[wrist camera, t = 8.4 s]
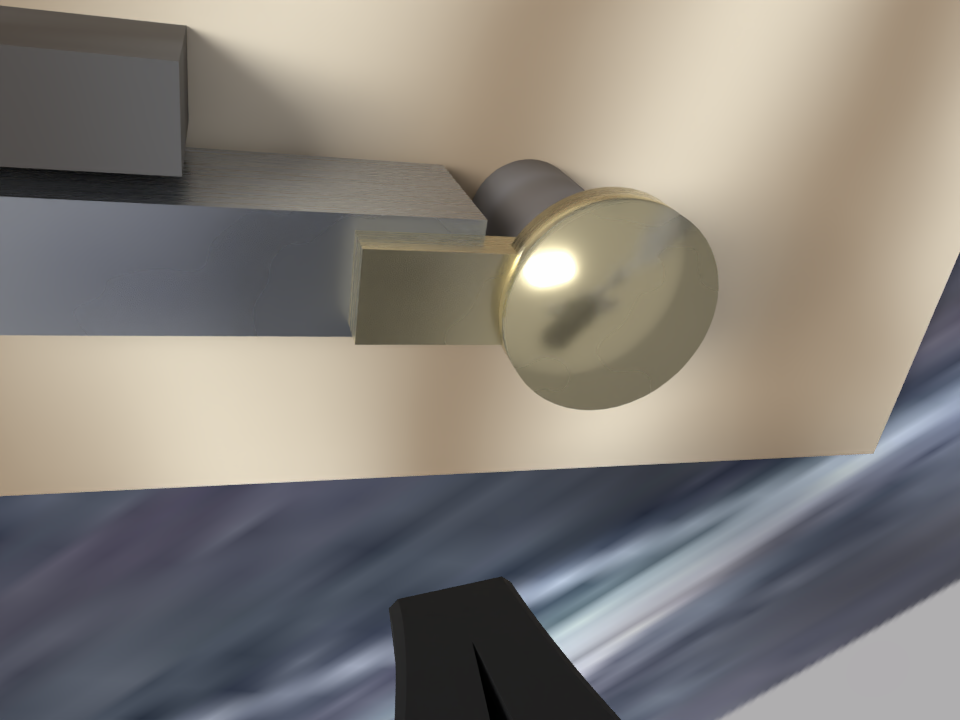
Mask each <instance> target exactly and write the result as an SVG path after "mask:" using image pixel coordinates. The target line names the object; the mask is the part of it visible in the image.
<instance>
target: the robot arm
mask: <svg viewBox="0 0 960 720" xmlns="http://www.w3.org/2000/svg"><path fill="white" fill-rule="evenodd" d="M389 613H390V621H391V629H392V637H393V646H394V654H395V662H396V696H395V720H621V719H620V718H619V717H618V716H617V715H616V714H615V712H614V711H613V710H612V709H611V708H610V707H609V706H608V705H607V704H606V702H605V701H604V700H603V699H602V698H601V697H600V696H599V695H598V693H597V692H596V691H595V690H594V689H593V688H592V687H591V685H590V684H589V683H588V682H587V681H586V680H585V678H584V677H583V676H582V675H581V674H580V673H579V671H578V670H577V669H576V668H575V667H574V665H573V664H572V663H571V662H570V660H569V659H568V658H567V657H566V655H565V654H564V653H563V652H562V651H561V649H560V648H559V647H558V646H557V644H556V643H555V642H554V641H553V639H552V638H551V637H550V635H549V634H548V633H547V632H546V630H545V629H544V628H543V626H542V625H541V624H540V623H539V621H538V620H537V618H536V617H535V616H534V614H533V613H532V612H531V610H530V609H529V608H528V606H527V605H526V603H525V602H524V601H523V599H522V598H521V596H520V595H519V594H518V592H517V591H516V589H515V588H514V586H513V585H512V583H511V582H510V581H508V580H506V579H505V578H503V577H498V578H493V579H489V580H484V581H479V582H475V583H470V584H466V585H461V586H456V587H452V588H447V589H442V590H438V591H433V592H429V593H424V594H419V595H415V596H410V597H406V598H401V599H398V600H397V601H396V602H395V603H394V604H393V605H392V606H391V607H390V608H389Z"/></svg>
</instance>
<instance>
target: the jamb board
mask: <svg viewBox="0 0 960 720" xmlns="http://www.w3.org/2000/svg"><path fill="white" fill-rule="evenodd" d="M185 147H191V148H205V149H220V150H234V151H249V152H264V153H278V154H293V155H308V156H322V157H337V158H351V159H366V160H381V161H395V162H410V163H425V164H439V165H443V166H444V167H445V168H446V169H447V171H448V172H449V173H450V174H451V176H452V177H453V178H454V179H455V181H456V182H457V183H458V184H459V185H460V187H461V188H462V189H463V190H464V192H465V193H466V194H467V195H468V197H469V198H470V199H471V200H472V202H473V203H474V204H475V205H476V207H477V208H478V209H479V210H480V211H481V213H482V214H483V215H484V216H485V218H486V219H487V220H488V221H487V227H486V234H485V236H503V237H517V236H518V235H519V233H520V232H521V231H522V230H523V229H524V228H525V226H526V225H528V224H529V223H530V222H531V221H532V220H533V219H534V218H535V217H536V216H537V215H539V214H540V213H541V212H543V211H544V210H545V209H547V208H548V207H550V206H551V205H553V204H555V203H557V202H558V201H560V200H562V199H564V198H566V197H569V196H571V195H573V194H576V193H579V192H582V191H586V190H590V189H595V188H602V187H624V188H632V189H636V190H639V191H643V192H646V193H648V194H650V195H652V196H654V197H656V198H658V199H659V200H661V201H662V202H664V203H665V204H667V205H668V206H670V207H671V208H672V209H674V210H675V211H677V212H678V213H679V214H681V215H682V216H684V217H685V218H686V219H688V220H689V221H691V222H692V223H693V224H694V225H695V226H696V227H697V228H698V229H699V230H700V232H701V233H702V234H703V236H704V237H705V238H706V240H707V242H708V244H709V245H710V247H711V249H712V252H713V255H714V258H715V261H716V265H717V271H718V284H719V289H718V299H717V304H716V309H715V313H714V316H713V319H712V322H711V325H710V327H709V329H708V331H707V333H706V336H705V338H704V340H703V341H702V343H701V344H700V346H699V348H698V349H697V351H696V352H695V353H694V355H693V356H692V357H691V359H690V360H689V361H688V362H687V364H686V365H685V366H684V367H683V368H682V369H681V370H680V371H679V372H678V373H677V374H676V375H674V376H673V377H672V378H671V379H670V380H669V381H668V382H666V383H665V384H663V385H662V386H661V387H659V388H658V389H656V390H655V391H653V392H651V393H649V394H648V395H646V396H644V397H642V398H640V399H637V400H635V401H633V402H631V403H627V404H624V405H621V406H618V407H613V408H608V409H601V410H577V409H571V408H566V407H563V406H559V405H556V404H554V403H552V402H550V401H547V400H545V399H544V398H542V397H541V396H539V395H538V394H536V393H535V392H534V391H533V390H531V389H530V388H529V387H528V386H527V385H526V384H525V383H524V381H523V380H522V379H521V377H520V376H519V375H518V373H517V372H516V370H515V368H514V367H513V365H512V363H511V362H510V360H509V359H508V357H507V355H506V354H505V352H504V350H503V349H502V347H501V345H355V343H354V340H353V337H279V336H42V335H0V496H10V495H31V494H51V493H72V492H92V491H113V490H133V489H154V488H174V487H195V486H215V485H236V484H256V483H277V482H297V481H318V480H338V479H359V478H379V477H400V476H421V475H441V474H462V473H482V472H503V471H523V470H544V469H564V468H585V467H605V466H626V465H646V464H667V463H687V462H708V461H728V460H749V459H769V458H790V457H811V456H831V455H852V454H872V453H874V451H875V449H876V446H877V444H878V442H879V439H880V437H881V435H882V432H883V430H884V428H885V425H886V423H887V421H888V418H889V416H890V414H891V411H892V409H893V407H894V404H895V402H896V400H897V397H898V395H899V393H900V390H901V388H902V386H903V383H904V381H905V379H906V376H907V374H908V372H909V369H910V367H911V365H912V362H913V360H914V358H915V355H916V353H917V351H918V348H919V346H920V343H921V341H922V339H923V336H924V334H925V332H926V329H927V327H928V325H929V322H930V320H931V318H932V315H933V313H934V311H935V308H936V306H937V304H938V301H939V299H940V297H941V294H942V292H943V290H944V287H945V285H946V283H947V280H948V278H949V276H950V273H951V271H952V269H953V266H954V264H955V262H956V259H957V257H958V255H959V252H960V0H0V167H17V168H35V169H53V170H71V171H88V172H106V173H124V174H142V175H160V176H177V177H182V172H183V163H184V155H185Z"/></svg>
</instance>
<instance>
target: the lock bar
mask: <svg viewBox="0 0 960 720" xmlns="http://www.w3.org/2000/svg"><path fill="white" fill-rule="evenodd" d="M487 221H488V220H487V219H486V218H485V216H484V215H483V214H482V213H481V211H480V210H479V209H478V208H477V207H476V205H475V204H474V203H473V202H472V200H471V199H470V198H469V197H468V195H467V194H466V193H465V192H464V190H463V189H462V188H461V187H460V185H459V184H458V183H457V182H456V181H455V179H454V178H453V177H452V176H451V174H450V173H449V172H448V171H447V169H446V168H445V167H444V166H443V165H439V164H425V163H410V162H395V161H381V160H366V159H351V158H337V157H322V156H308V155H293V154H278V153H264V152H249V151H234V150H220V149H205V148H191V147H185V155H184V163H183V172H182V177H177V176H160V175H142V174H124V173H106V172H88V171H71V170H53V169H35V168H17V167H0V335H42V336H279V337H353V340H354V343H355V345H501V347H502V349H503V350H504V352H505V354H506V355H507V357H508V359H509V360H510V362H511V363H512V365H513V367H514V368H515V370H516V372H517V373H518V375H519V376H520V377H521V379H522V380H523V381H524V383H525V384H526V385H527V386H528V387H529V388H530V389H531V390H533V391H534V392H535V393H536V394H538V395H539V396H541V397H542V398H544V399H545V400H547V401H550V402H552V403H554V404H556V405H559V406H563V407H566V408H571V409H577V410H601V409H608V408H613V407H618V406H621V405H624V404H627V403H631V402H633V401H635V400H637V399H640V398H642V397H644V396H646V395H648V394H649V393H651V392H653V391H655V390H656V389H658V388H659V387H661V386H662V385H663V384H665V383H666V382H668V381H669V380H670V379H671V378H672V377H673V376H674V375H676V374H677V373H678V372H679V371H680V370H681V369H682V368H683V367H684V366H685V365H686V364H687V362H688V361H689V360H690V359H691V357H692V356H693V355H694V353H695V352H696V351H697V349H698V348H699V346H700V344H701V343H702V341H703V340H704V338H705V336H706V333H707V331H708V329H709V327H710V325H711V322H712V319H713V316H714V313H715V309H716V304H717V299H718V289H719V284H718V271H717V265H716V261H715V258H714V255H713V252H712V249H711V247H710V245H709V244H708V242H707V240H706V238H705V237H704V236H703V234H702V233H701V232H700V230H699V229H698V228H697V227H696V226H695V225H694V224H693V223H692V222H691V221H689V220H688V219H686V218H685V217H684V216H682V215H681V214H679V213H678V212H677V211H675V210H674V209H672V208H671V207H670V206H668V205H667V204H665V203H664V202H662V201H661V200H659V199H658V198H656V197H654V196H652V195H650V194H648V193H646V192H643V191H639V190H636V189H632V188H624V187H602V188H595V189H590V190H586V191H582V192H579V193H576V194H573V195H571V196H569V197H566V198H564V199H562V200H560V201H558V202H557V203H555V204H553V205H551V206H550V207H548V208H547V209H545V210H544V211H543V212H541V213H540V214H539V215H537V216H536V217H535V218H534V219H533V220H532V221H531V222H530V223H529V224H528V225H526V226H525V228H524V229H523V230H522V231H521V232H520V233H519V235H518V236H517V237H503V236H485V234H486V227H487Z"/></svg>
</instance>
